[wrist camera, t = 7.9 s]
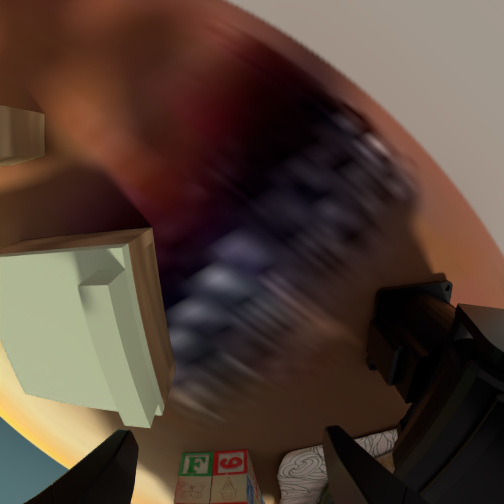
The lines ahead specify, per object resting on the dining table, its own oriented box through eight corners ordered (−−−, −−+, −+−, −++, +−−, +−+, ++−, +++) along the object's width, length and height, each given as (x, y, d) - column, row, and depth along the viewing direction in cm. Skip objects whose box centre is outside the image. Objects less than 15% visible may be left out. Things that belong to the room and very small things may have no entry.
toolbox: (152, 227, 17) (128, 242, 13) (175, 368, 20) (164, 405, 16) (-22, 246, 17) (-53, 259, 13) (10, 352, 19) (-13, 374, 16)
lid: (128, 243, 13) (103, 260, 10) (164, 406, 16) (155, 439, 13) (-16, 255, 13) (-44, 269, 10) (29, 387, 16) (12, 409, 13)
